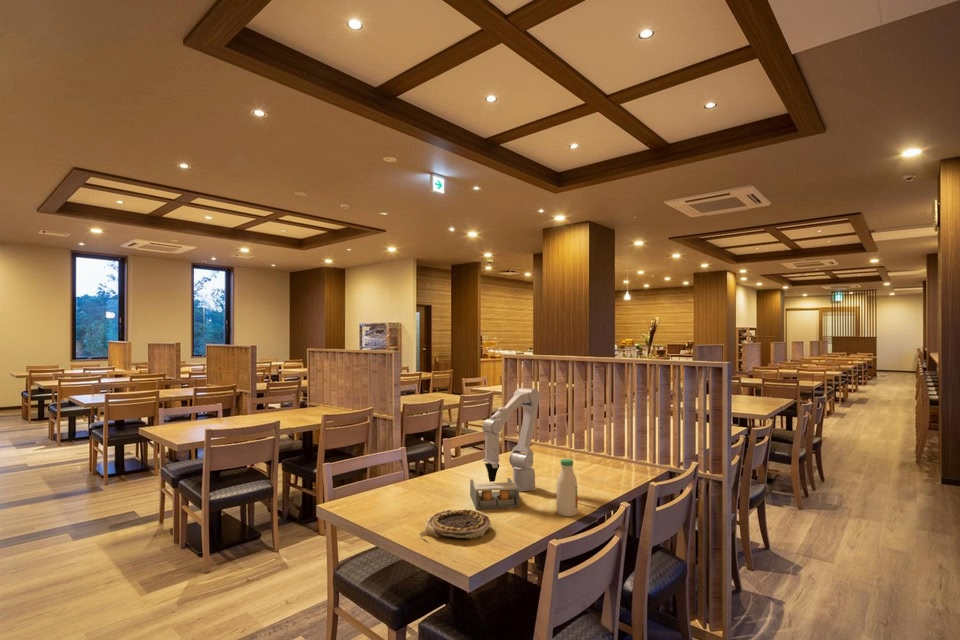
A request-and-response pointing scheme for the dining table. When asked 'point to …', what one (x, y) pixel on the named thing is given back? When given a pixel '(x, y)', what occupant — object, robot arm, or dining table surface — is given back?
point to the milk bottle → (566, 490)
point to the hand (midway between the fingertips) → (492, 481)
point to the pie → (457, 525)
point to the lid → (495, 486)
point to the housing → (493, 498)
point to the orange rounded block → (504, 494)
